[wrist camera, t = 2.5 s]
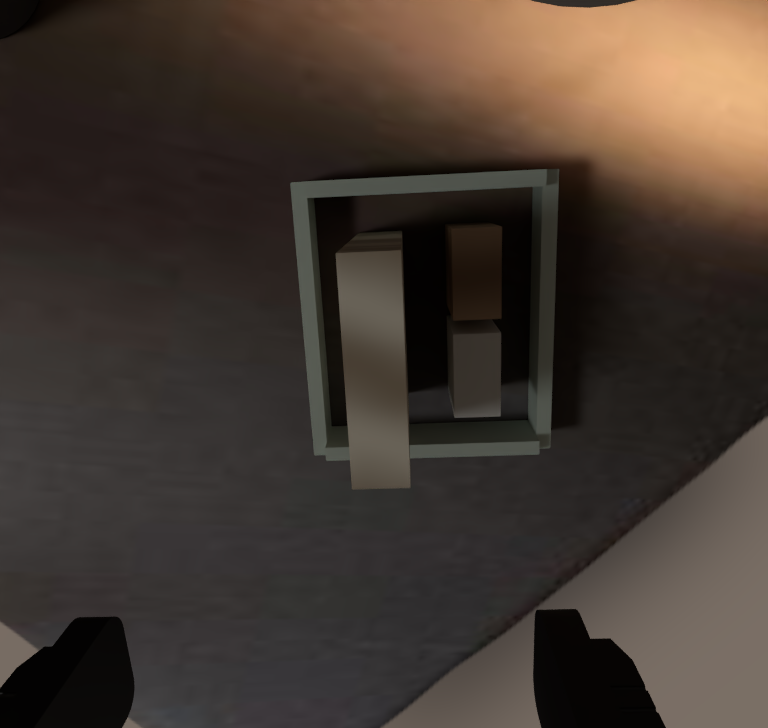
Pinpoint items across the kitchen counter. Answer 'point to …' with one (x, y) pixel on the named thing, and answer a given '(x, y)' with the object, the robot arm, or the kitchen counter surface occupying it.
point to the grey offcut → (474, 367)
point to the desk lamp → (583, 2)
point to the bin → (537, 429)
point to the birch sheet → (375, 359)
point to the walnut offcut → (473, 270)
